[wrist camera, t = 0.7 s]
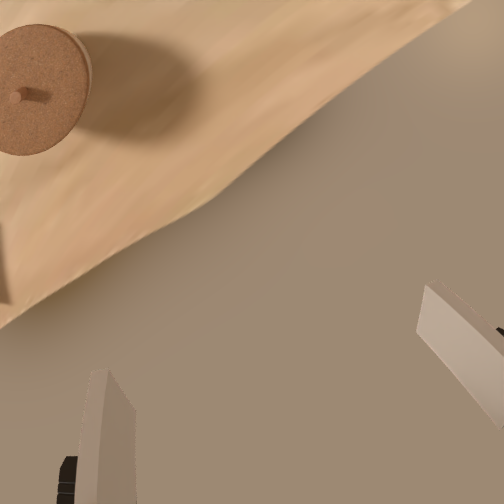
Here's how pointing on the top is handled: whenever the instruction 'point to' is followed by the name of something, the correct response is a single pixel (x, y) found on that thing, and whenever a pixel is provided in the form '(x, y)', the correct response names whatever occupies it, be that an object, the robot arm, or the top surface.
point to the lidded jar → (41, 87)
